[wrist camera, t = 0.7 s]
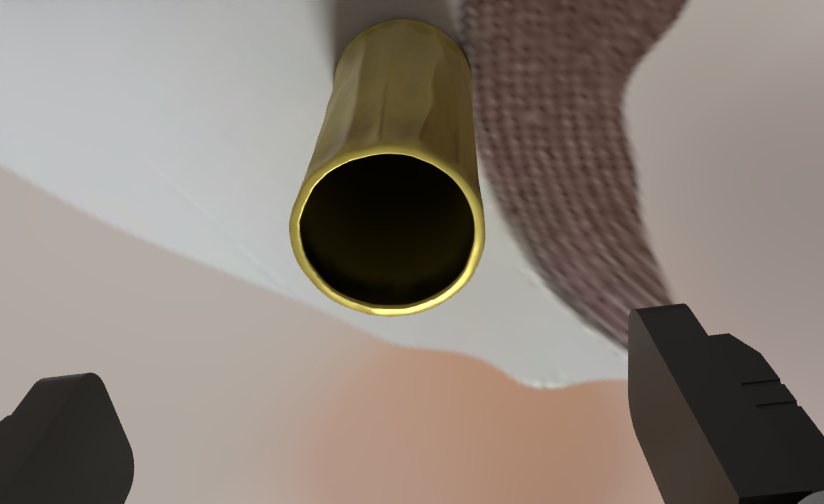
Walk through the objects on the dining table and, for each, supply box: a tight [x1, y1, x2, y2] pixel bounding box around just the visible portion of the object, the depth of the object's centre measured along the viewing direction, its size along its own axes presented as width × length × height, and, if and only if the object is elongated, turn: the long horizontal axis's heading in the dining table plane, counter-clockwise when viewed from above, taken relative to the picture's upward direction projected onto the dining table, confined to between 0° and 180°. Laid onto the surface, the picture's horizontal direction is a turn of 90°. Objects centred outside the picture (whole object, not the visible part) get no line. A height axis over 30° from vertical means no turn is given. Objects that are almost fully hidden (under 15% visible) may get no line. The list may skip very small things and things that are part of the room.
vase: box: [289, 19, 485, 317], centre depth 25 cm, size 6×6×14 cm
